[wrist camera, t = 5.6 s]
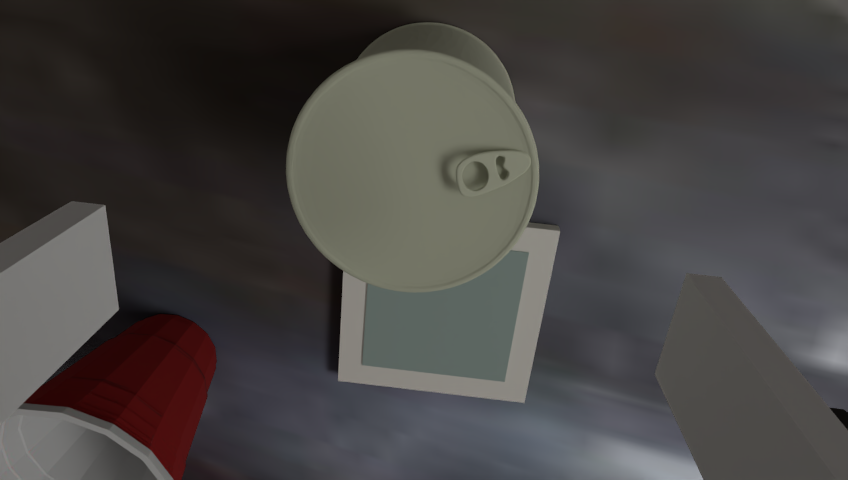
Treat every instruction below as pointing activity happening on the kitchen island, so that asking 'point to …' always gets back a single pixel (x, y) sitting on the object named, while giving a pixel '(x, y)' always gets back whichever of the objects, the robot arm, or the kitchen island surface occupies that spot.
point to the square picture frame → (452, 327)
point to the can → (414, 161)
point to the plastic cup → (116, 409)
